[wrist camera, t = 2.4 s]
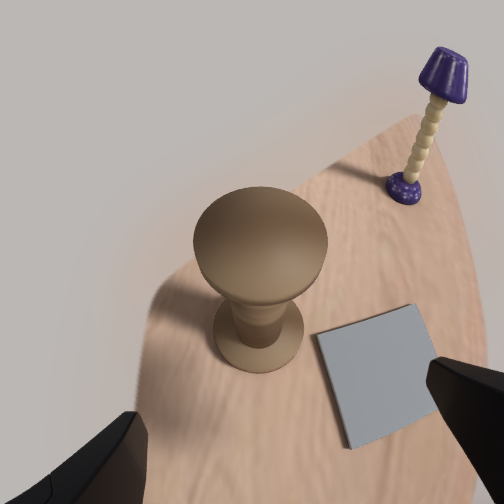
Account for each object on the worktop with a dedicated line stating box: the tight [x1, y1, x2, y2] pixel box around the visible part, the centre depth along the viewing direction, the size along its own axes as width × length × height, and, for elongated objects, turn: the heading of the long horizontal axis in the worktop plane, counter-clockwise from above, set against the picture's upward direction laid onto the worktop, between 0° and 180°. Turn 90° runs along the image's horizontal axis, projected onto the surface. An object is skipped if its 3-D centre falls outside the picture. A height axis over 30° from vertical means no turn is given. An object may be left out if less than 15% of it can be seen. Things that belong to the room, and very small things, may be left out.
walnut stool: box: [193, 187, 328, 374], centre depth 17 cm, size 6×6×12 cm
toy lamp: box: [386, 47, 468, 205], centre depth 23 cm, size 5×5×17 cm
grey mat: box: [316, 303, 438, 450], centre depth 19 cm, size 9×9×1 cm
